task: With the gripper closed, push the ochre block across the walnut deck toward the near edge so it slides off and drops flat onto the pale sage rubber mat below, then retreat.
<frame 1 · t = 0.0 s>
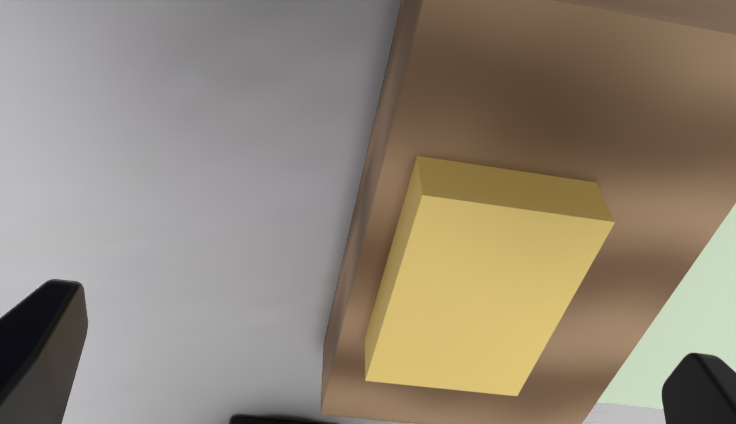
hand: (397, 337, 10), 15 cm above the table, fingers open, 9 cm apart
ochre block: (468, 268, 24), point 4 cm above the table, touching walnut deck
walnut deck: (502, 206, 27), on the table
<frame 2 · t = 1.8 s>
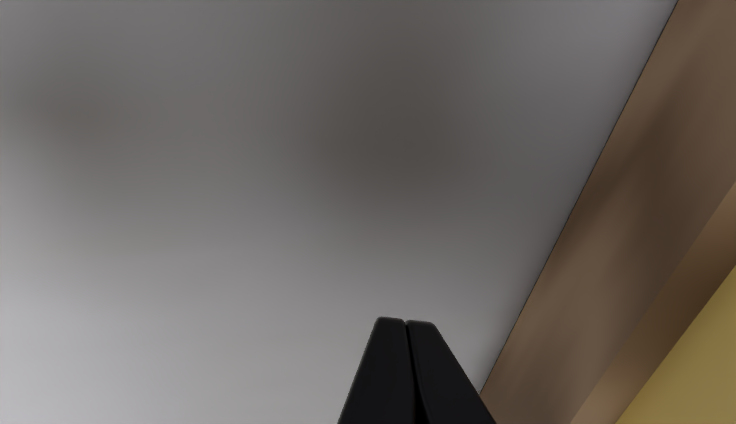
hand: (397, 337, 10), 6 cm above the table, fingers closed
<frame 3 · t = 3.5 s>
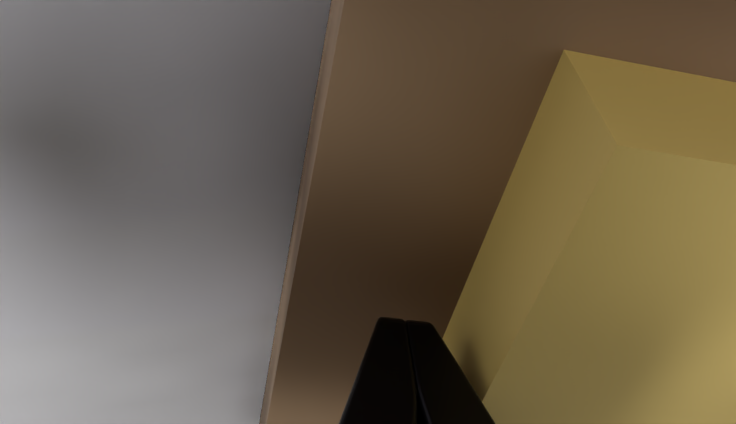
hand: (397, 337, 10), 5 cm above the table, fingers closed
ochre block: (629, 331, 11), point 4 cm above the table, touching gripper, walnut deck
walnut deck: (586, 188, 14), on the table
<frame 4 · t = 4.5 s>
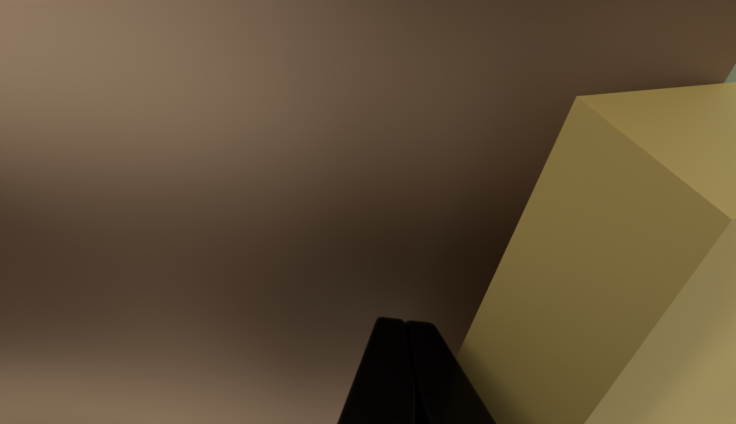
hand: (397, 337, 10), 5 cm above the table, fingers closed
ochre block: (597, 319, 11), point 4 cm above the table, tilted 26°, touching walnut deck
walnut deck: (241, 135, 13), on the table
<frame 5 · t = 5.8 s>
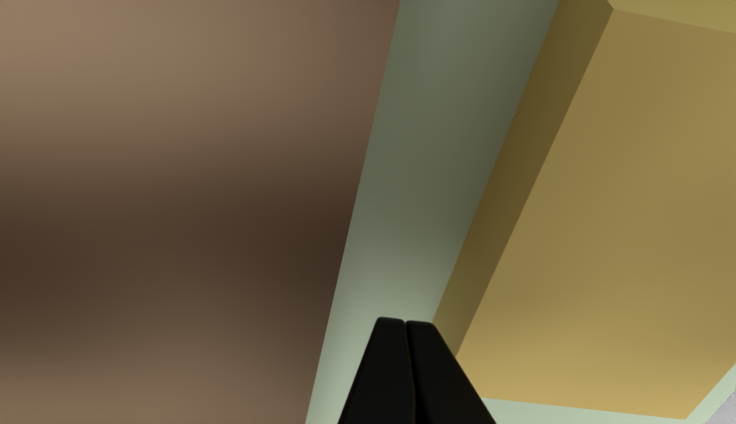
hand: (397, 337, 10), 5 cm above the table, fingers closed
ochre block: (658, 268, 12), point 2 cm above the table, tilted 180°, touching sage mat
walnut deck: (25, 101, 12), on the table
sage mat: (618, 189, 14), on the table
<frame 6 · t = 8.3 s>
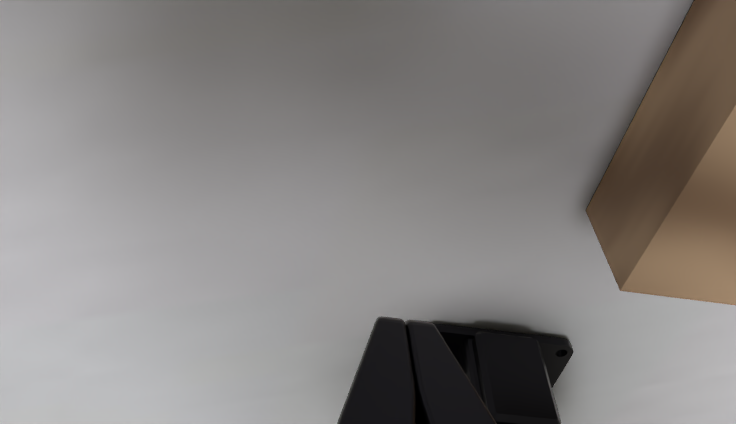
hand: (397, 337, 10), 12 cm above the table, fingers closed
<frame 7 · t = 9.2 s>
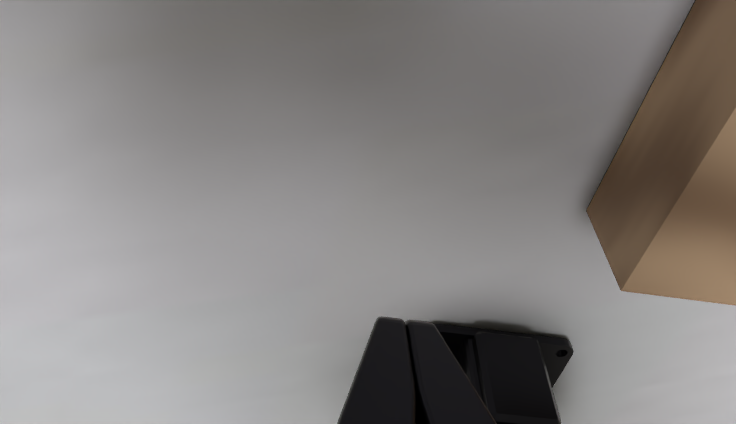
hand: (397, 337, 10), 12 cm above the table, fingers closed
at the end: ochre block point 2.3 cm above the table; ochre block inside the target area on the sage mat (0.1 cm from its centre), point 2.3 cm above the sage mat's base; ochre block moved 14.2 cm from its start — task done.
